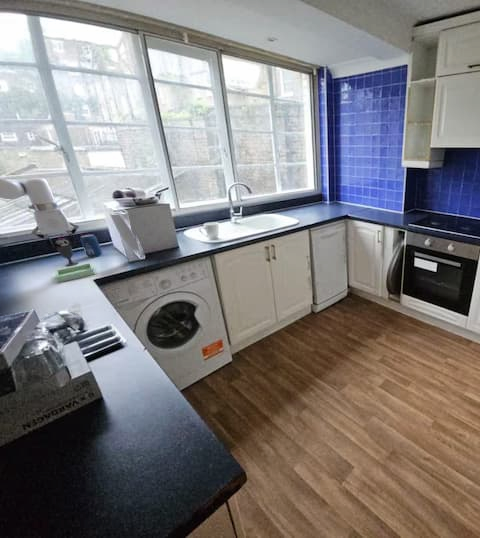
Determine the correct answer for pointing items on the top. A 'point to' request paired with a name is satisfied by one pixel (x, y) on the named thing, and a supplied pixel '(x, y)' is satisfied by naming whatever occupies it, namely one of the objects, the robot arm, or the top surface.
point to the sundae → (65, 250)
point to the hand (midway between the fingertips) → (62, 244)
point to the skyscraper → (128, 236)
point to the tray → (74, 272)
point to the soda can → (91, 245)
